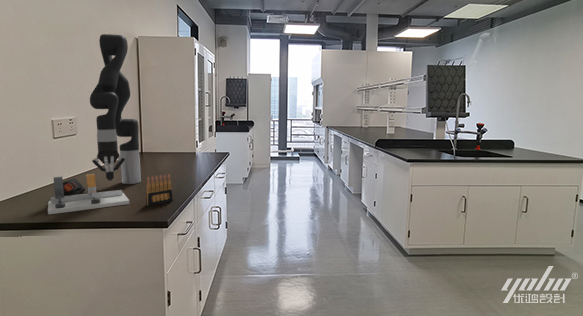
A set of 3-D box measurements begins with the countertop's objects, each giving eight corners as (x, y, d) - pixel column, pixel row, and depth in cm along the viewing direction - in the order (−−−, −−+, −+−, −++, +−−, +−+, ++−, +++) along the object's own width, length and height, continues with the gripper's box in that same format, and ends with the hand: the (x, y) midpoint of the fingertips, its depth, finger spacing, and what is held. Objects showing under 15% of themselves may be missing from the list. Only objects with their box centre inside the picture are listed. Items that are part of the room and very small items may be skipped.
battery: (61, 202, 160) (73, 193, 159) (50, 187, 160) (62, 178, 159) (79, 198, 171) (90, 189, 171) (69, 184, 172) (80, 175, 171)
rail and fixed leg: (51, 202, 148) (49, 177, 147) (121, 193, 162) (120, 171, 161) (51, 208, 139) (48, 182, 138) (125, 199, 153) (124, 175, 151)
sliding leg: (87, 193, 155) (86, 174, 154) (95, 192, 157) (94, 173, 155) (89, 199, 146) (88, 178, 144) (98, 198, 147) (96, 178, 146)
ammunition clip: (148, 205, 149) (146, 176, 147) (146, 205, 150) (144, 176, 148) (172, 201, 156) (171, 173, 154) (170, 200, 158) (169, 172, 156)
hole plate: (48, 204, 150) (48, 198, 150) (123, 195, 165) (123, 190, 164) (48, 214, 137) (47, 207, 136) (129, 203, 151) (129, 197, 151)
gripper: (123, 138, 162) (125, 177, 164) (88, 140, 155) (92, 180, 157) (125, 140, 155) (128, 180, 158) (90, 141, 149) (93, 183, 151)
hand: (110, 180), depth 158 cm, fingers closed
